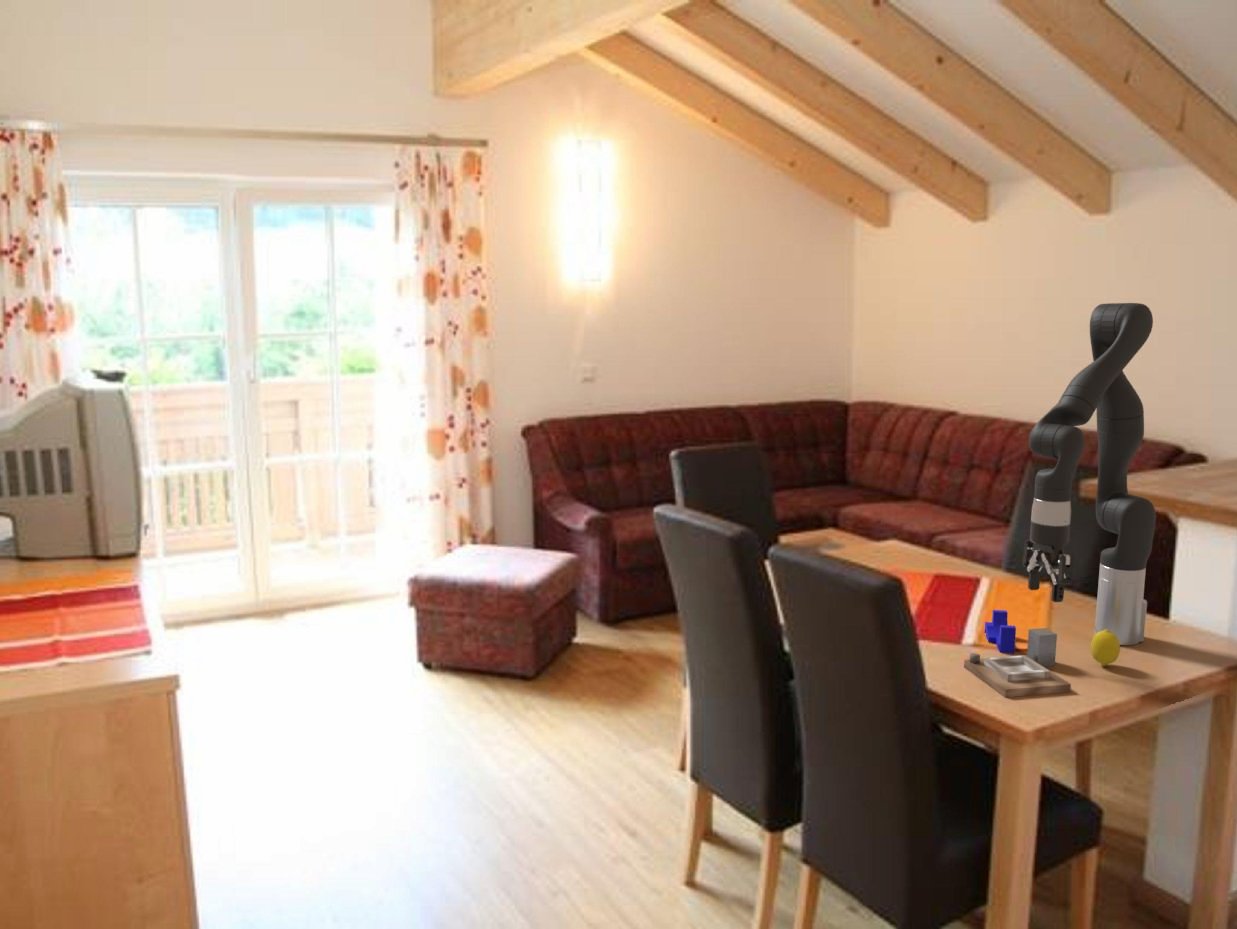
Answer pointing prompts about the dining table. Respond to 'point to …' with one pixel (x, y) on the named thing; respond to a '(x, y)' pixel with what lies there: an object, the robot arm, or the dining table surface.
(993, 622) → the cable clip
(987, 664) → the door panel
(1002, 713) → the dining table surface
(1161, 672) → the dining table surface
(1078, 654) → the dining table surface
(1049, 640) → the hinge block
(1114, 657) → the lemon
